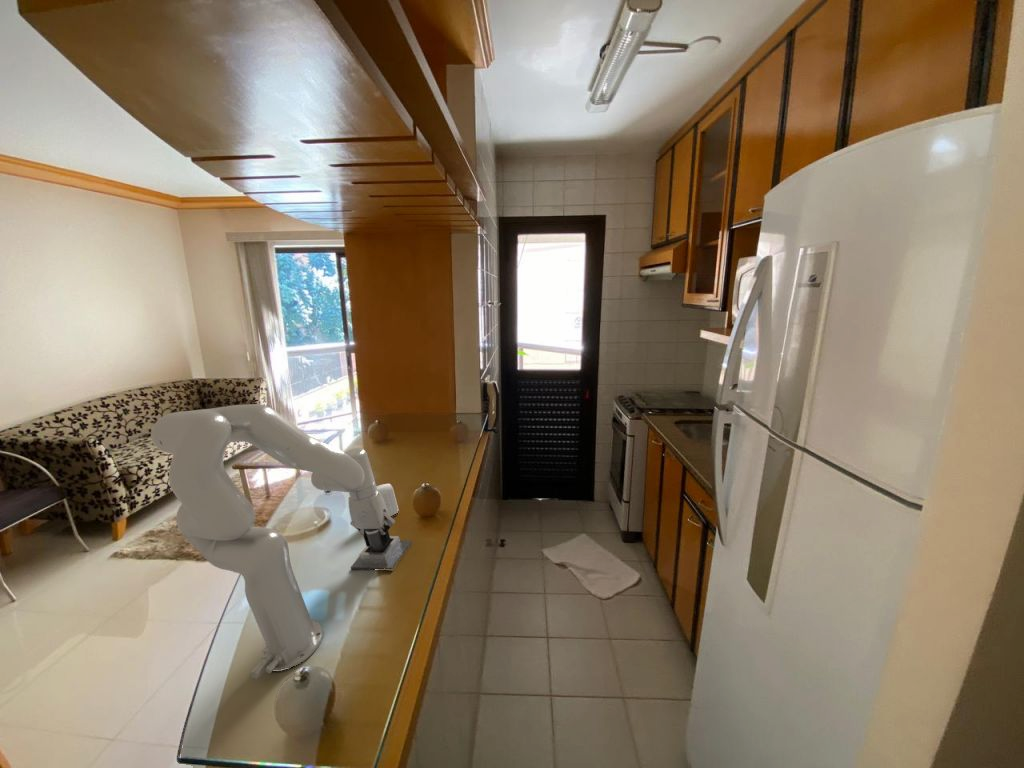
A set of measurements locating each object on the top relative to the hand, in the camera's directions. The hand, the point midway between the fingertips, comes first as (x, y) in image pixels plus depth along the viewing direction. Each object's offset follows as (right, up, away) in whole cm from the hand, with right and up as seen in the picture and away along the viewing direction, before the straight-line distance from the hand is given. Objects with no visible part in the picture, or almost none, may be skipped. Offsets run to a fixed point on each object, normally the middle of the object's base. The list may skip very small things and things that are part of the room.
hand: (378, 543), depth 120 cm
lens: (0, -3, +1) cm, 3 cm away
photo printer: (-5, 0, +23) cm, 23 cm away
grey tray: (+1, -5, +1) cm, 5 cm away
